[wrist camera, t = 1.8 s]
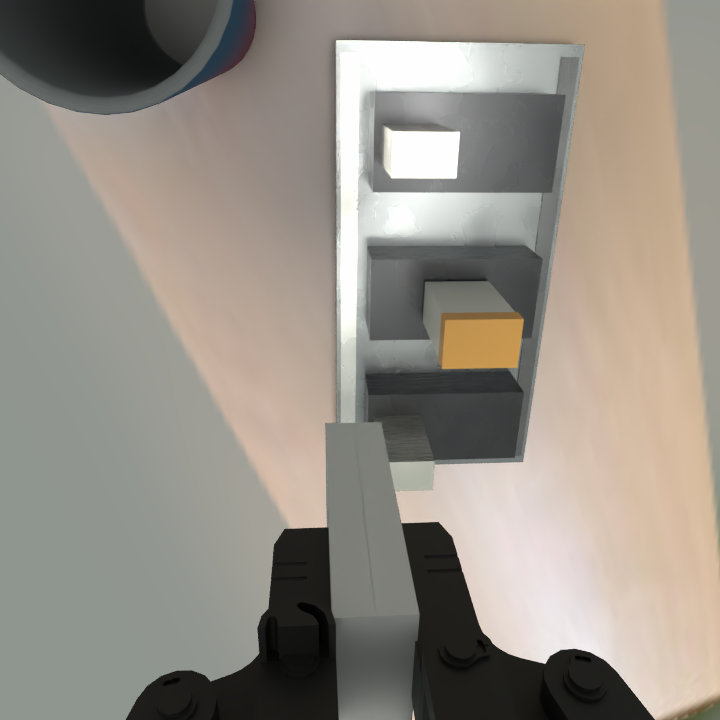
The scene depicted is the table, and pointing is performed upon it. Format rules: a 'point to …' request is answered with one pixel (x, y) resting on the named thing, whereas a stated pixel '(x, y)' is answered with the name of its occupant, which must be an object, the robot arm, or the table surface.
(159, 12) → the cup
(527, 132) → the panel
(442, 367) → the handle
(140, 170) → the table surface
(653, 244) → the table surface
